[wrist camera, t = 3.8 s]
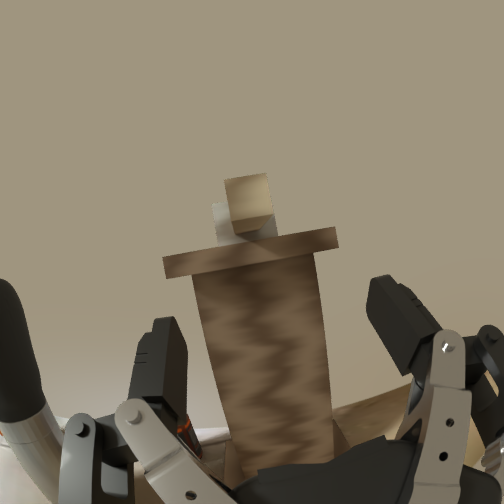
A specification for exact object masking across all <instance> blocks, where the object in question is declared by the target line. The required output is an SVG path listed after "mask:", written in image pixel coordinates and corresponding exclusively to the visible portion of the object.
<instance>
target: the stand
mask: <svg viewBox="0 0 504 504" xmlns="http://www.w3.org/2000/svg"><path fill="white" fill-rule="evenodd" d="M335 248H339V246H338V241H337V235H336V229H335V227H329V228H323V229H317V230H312V231H306V232H300V233H294V234H289V235H282V236H277V237H271V238H265V239H259V240H254V241H248V242H242V243H237V244H231V245H226V246H220V247H215V248H209V249H204V250H198V251H193V252H188V253H182V254H177V255H171V256H166V257H163V263H164V269H165V274H166V279H169V278H175V277H181V276H187V275H192V280H193V285H194V290H195V295H196V300H197V305H198V310H199V314H200V319H201V324H202V328H203V332H204V337H205V341H206V346H207V350H208V354H209V358H210V362H211V366H212V370H213V373H214V378H215V381H216V385H217V389H218V392H219V396H220V400H221V403H222V407H223V410H224V414H225V417H226V420H227V424H228V427H229V431H230V434H231V437H232V440H227V441H226V448H225V466H224V483H226V484H227V485H228V486H229V487H230V488H231V489H233V488H235V487H236V486H237V485H238V484H240V483H242V482H243V481H245V480H247V479H249V478H251V477H253V476H256V475H258V472H257V469H264V468H270V467H276V466H281V465H287V464H314V463H326V462H329V461H330V460H332V459H334V458H336V457H338V456H339V455H341V454H343V453H344V452H346V451H348V450H349V449H351V448H350V446H349V444H348V443H347V441H346V439H345V437H344V436H343V434H342V432H341V430H340V429H339V427H338V425H337V424H336V422H335V420H334V419H333V420H332V406H331V392H330V381H329V369H328V358H327V349H326V340H325V331H324V323H323V315H322V308H321V300H320V293H319V286H318V280H317V273H316V267H315V261H314V255H313V253H314V252H319V251H324V250H330V249H335Z"/></svg>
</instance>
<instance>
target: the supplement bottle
mask: <svg viewBox="0 0 504 504" xmlns="http://www.w3.org/2000/svg"><path fill="white" fill-rule="evenodd" d="M177 435H178V436H179V437H180V438H181V439H182V441H183V442H184V443H185V444H186V445H187V446H188V447H189V448H190V450H191V451H192V452H193V453H194V454H195V455H196V456H197V457H198V458H199V459H200V458H201V457H202V449H201V446H200V444H199V441H198V439H197V436H196V434H195V431H194V429H193V427H192V424H191V421H190V419H189V416H188V414H187V425H178V432H177Z"/></svg>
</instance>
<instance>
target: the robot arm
mask: <svg viewBox="0 0 504 504" xmlns="http://www.w3.org/2000/svg"><path fill="white" fill-rule="evenodd" d="M366 312H367V316H368V319H369V320H370V322H371V324H372V325H373V327H374V329H375V330H376V332H377V334H378V335H379V337H380V339H381V340H382V342H383V344H384V345H385V347H386V349H387V350H388V352H389V354H390V355H391V357H392V359H393V361H394V362H395V364H396V366H397V368H398V370H399V371H400V373H401V375H402V376H404V375H406V374H409V373H412V374H413V376H414V377H413V379H412V383H411V388H410V393H409V398H408V402H407V407H406V411H405V415H404V418H403V421H402V423H401V425H400V427H399V429H398V432H397V434H396V437H395V440H386V438H385V435H382V436H380V437H377V438H375V439H372V440H370V441H367V442H364V443H362V444H359V445H356V446H354V447H353V448H351V449H349V450H348V451H346V452H344V453H343V454H341V455H339V456H338V457H336V458H334V459H332V460H330V461H329V462H326V463H314V464H287V465H281V466H276V467H270V468H264V469H257V472H258V475H256V476H253V477H251V478H249V479H247V480H245V481H243V482H242V483H240V484H238V485H237V486H236V487H235V488H233V489H231V488H230V487H229V486H228V485H227V484H226V483H224V482H223V481H222V480H221V479H220V478H219V477H218V476H217V475H216V474H214V473H213V472H212V471H211V470H210V469H209V468H208V467H207V466H206V465H205V464H204V463H203V462H202V461H201V460H200V459H199V458H198V457H197V456H196V455H195V454H194V453H193V452H192V451H191V450H190V448H189V447H188V446H187V445H186V444H185V443H184V442H183V441H182V439H181V438H180V437H179V436H178V435H177V432H178V425H187V410H186V409H187V365H188V351H187V345H186V342H185V340H184V337H183V336H182V333H181V331H180V328H179V326H178V324H177V321H176V319H175V318H174V317H173V316H172V317H164V318H156V319H155V320H154V323H153V328H152V332H149V333H145V334H144V335H143V337H142V339H141V340H140V341H139V343H138V347H137V352H136V357H135V361H134V363H135V365H134V367H133V372H132V378H131V383H130V388H129V394H128V399H127V400H126V401H124V402H123V403H122V404H120V405H119V407H118V408H117V410H116V412H115V413H114V414H111V415H108V416H105V417H101V418H97V419H93V418H92V417H91V416H89V415H88V414H85V413H78V414H75V415H74V416H72V417H71V418H70V419H69V421H68V422H67V424H66V428H65V434H63V433H62V431H61V429H60V427H59V425H58V423H57V421H56V419H55V417H54V415H53V413H52V411H51V410H50V407H49V405H48V403H47V401H46V398H45V396H44V393H43V391H42V386H41V378H40V373H39V369H38V365H37V362H36V359H35V355H34V352H33V348H32V344H31V340H30V336H29V331H28V327H27V322H26V318H25V314H24V310H23V308H22V304H21V302H20V299H19V297H18V295H17V293H16V291H15V289H14V288H13V287H12V286H11V284H10V283H8V282H7V281H6V280H3V279H0V431H1V433H2V434H3V436H4V438H5V439H6V441H7V443H8V444H9V446H10V448H11V449H12V451H13V452H14V454H15V455H16V457H17V459H18V461H19V462H20V464H21V465H22V467H23V468H24V469H25V471H26V472H27V474H28V475H29V476H30V478H31V479H32V480H33V482H34V483H35V484H36V485H37V487H38V488H39V489H40V490H41V492H42V493H43V494H44V495H45V496H46V497H47V499H48V500H49V501H51V502H52V504H135V495H134V462H137V461H139V462H140V463H141V465H142V466H143V468H144V469H145V473H144V475H145V478H146V479H147V481H148V482H149V484H150V485H151V486H152V488H153V489H154V490H155V492H156V493H157V494H158V495H159V496H160V498H161V499H162V500H163V501H164V503H165V504H501V501H502V496H504V335H503V333H502V332H501V331H500V330H499V329H498V328H496V327H495V326H492V325H484V326H483V327H481V329H480V330H479V332H478V334H477V335H476V336H469V337H461V336H460V335H459V334H458V333H457V332H455V331H452V330H443V329H442V327H441V326H440V325H439V324H438V322H437V321H436V320H435V318H434V317H433V316H432V315H431V313H430V312H429V311H428V310H427V309H426V307H425V306H423V304H422V302H421V301H420V300H419V299H417V296H416V295H415V294H414V293H413V292H412V291H411V289H409V288H407V287H406V286H404V285H403V284H401V283H400V284H397V283H396V282H395V280H394V279H393V278H392V277H391V276H390V275H383V276H379V277H375V278H372V279H371V281H370V286H369V292H368V298H367V303H366ZM487 369H488V371H489V373H490V374H491V376H492V378H493V379H494V381H495V383H496V385H497V386H498V389H499V394H498V397H497V395H496V394H495V392H494V390H493V388H492V387H491V385H490V383H489V381H488V380H487V378H486V376H485V374H484V373H485V372H486V371H487ZM470 415H471V417H472V419H473V421H474V423H475V425H476V427H477V430H478V432H479V434H480V437H481V439H482V441H483V444H484V446H485V449H486V451H485V455H484V456H483V458H482V460H481V464H482V466H483V467H486V469H485V472H482V471H479V470H477V469H474V468H471V467H469V466H466V465H464V464H463V462H464V457H465V451H466V446H467V439H468V432H469V424H470Z"/></svg>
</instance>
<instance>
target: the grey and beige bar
mask: <svg viewBox="0 0 504 504" xmlns="http://www.w3.org/2000/svg"><path fill="white" fill-rule="evenodd" d="M224 183H225V189H226V194H227V200H228V201H227V202H221V203H216V204H212V211H213V217H214V223H215V229H216V235H217V240H218V246H219V247H220V246H226V245H231V244H237V243H242V242H248V241H254V240H259V239H265V238H271V237H277V236H278V233H277V227H276V222H275V216H274V211H273V206H272V200H271V196H270V191H269V186H268V181H267V176H266V173H262V174H256V175H250V176H243V177H237V178H231V179H225V180H224Z"/></svg>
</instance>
